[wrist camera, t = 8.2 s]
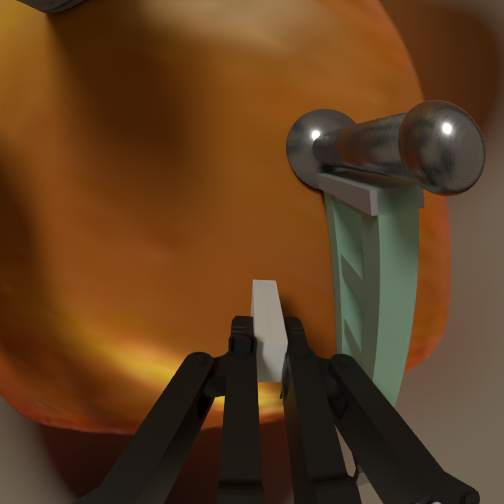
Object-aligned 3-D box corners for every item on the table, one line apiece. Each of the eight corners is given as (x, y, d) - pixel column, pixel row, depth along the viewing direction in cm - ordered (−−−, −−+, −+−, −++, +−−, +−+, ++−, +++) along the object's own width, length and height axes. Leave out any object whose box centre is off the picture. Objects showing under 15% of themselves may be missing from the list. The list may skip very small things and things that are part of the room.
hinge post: (293, 195, 20) (382, 287, 6) (279, 114, 18) (345, 20, 4) (369, 184, 19) (524, 245, 5) (357, 107, 17) (509, 61, 3)
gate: (316, 174, 18) (369, 190, 10) (351, 169, 18) (422, 184, 9) (333, 365, 24) (358, 441, 15) (359, 359, 24) (390, 431, 15)
